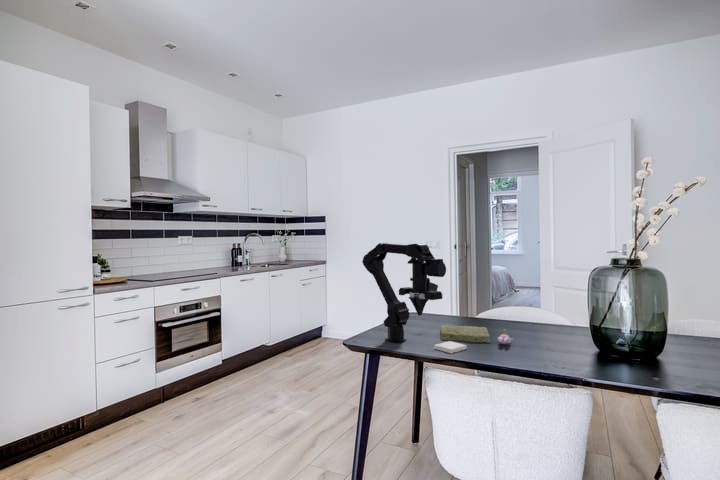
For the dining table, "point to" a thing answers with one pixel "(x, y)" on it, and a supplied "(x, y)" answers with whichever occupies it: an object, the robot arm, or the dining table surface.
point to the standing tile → (450, 347)
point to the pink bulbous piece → (504, 338)
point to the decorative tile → (465, 333)
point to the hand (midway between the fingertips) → (419, 315)
